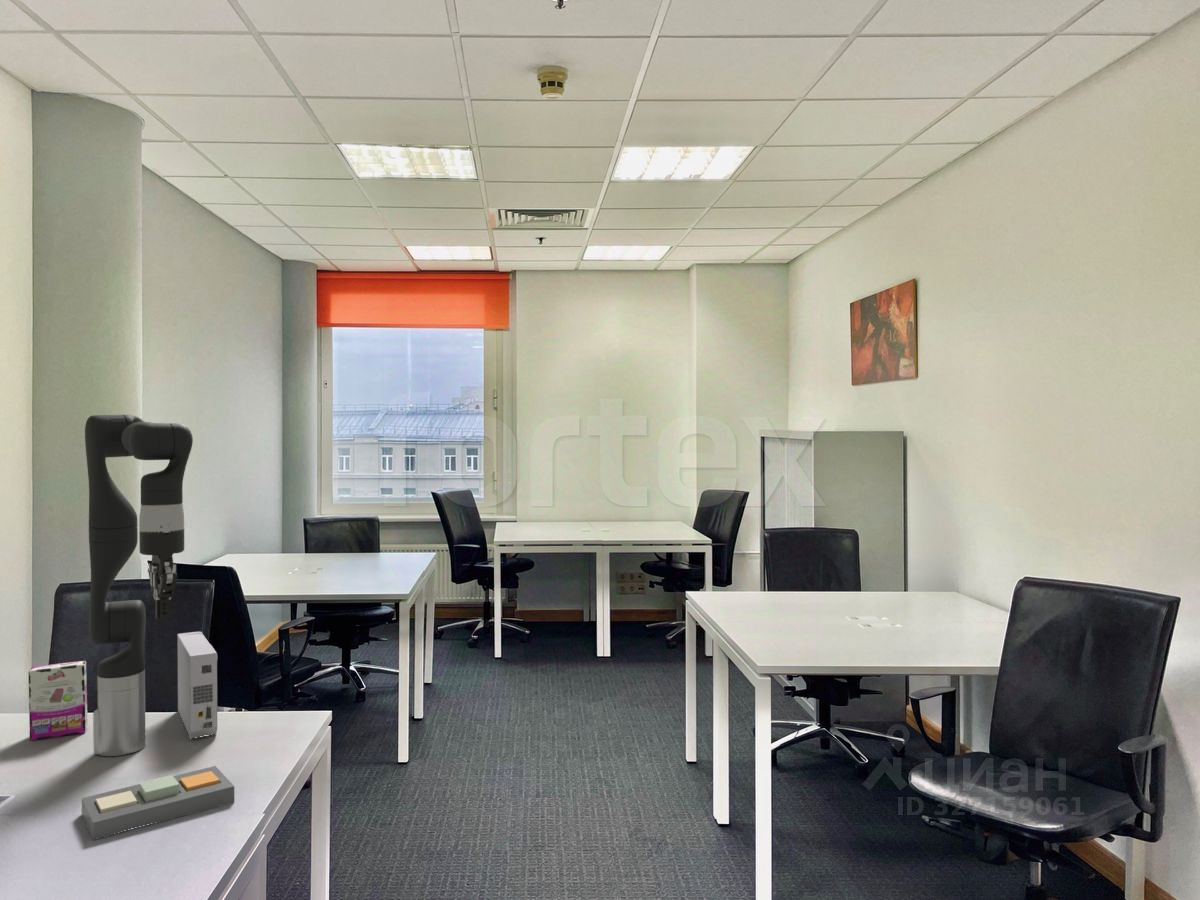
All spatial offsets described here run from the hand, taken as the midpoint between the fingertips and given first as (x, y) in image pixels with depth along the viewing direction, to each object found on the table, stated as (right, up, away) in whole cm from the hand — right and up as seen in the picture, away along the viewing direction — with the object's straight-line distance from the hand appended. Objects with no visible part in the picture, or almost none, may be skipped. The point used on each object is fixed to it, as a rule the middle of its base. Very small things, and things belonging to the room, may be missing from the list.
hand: (162, 619), depth 153 cm
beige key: (-5, -33, -6) cm, 35 cm away
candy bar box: (-45, -36, +38) cm, 69 cm away
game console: (-16, -35, +45) cm, 59 cm away
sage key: (0, -32, -2) cm, 32 cm away
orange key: (+6, -33, +3) cm, 34 cm away
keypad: (0, -35, -2) cm, 35 cm away
